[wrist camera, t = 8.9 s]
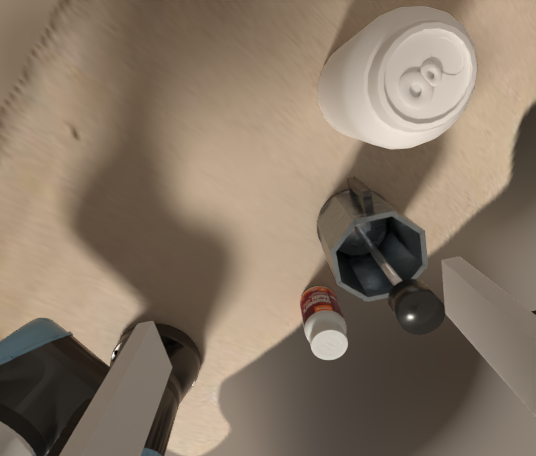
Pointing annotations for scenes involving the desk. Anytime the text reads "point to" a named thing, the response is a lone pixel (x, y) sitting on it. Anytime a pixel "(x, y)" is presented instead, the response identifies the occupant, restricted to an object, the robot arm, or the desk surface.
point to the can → (400, 78)
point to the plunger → (397, 282)
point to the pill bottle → (323, 323)
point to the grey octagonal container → (392, 247)
